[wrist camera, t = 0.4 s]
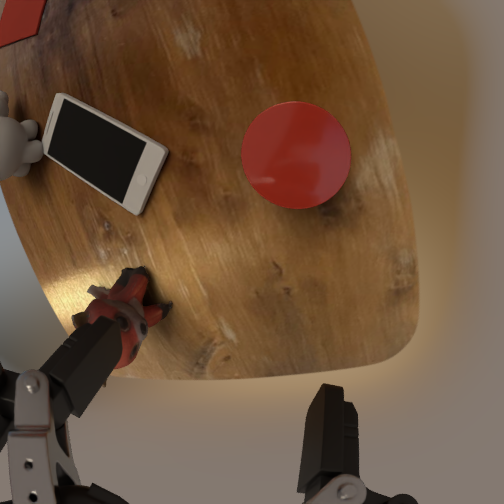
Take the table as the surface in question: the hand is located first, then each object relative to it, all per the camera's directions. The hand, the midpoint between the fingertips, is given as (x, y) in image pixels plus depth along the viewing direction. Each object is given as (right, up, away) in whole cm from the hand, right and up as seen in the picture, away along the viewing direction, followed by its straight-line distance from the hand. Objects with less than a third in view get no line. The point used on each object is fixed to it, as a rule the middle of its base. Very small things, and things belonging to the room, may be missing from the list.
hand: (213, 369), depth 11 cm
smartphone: (-14, +15, +16) cm, 26 cm away
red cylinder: (+5, +13, +13) cm, 19 cm away
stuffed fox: (-12, 0, +22) cm, 25 cm away
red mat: (-28, +37, +9) cm, 47 cm away
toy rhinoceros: (-26, +19, +16) cm, 36 cm away
